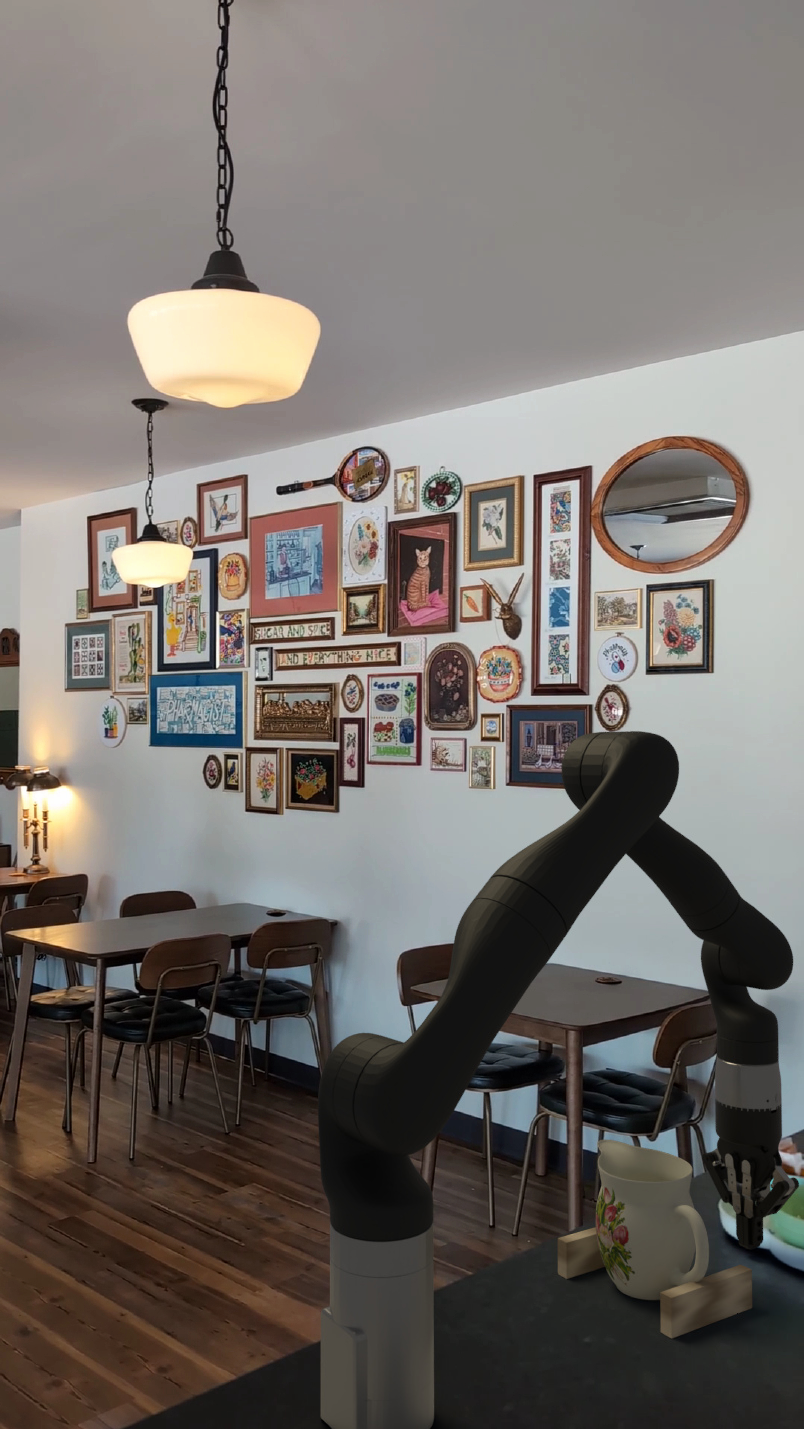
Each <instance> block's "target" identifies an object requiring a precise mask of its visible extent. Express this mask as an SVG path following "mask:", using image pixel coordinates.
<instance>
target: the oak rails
mask: <svg viewBox="0 0 804 1429" xmlns="http://www.w3.org/2000/svg"><path fill="white" fill-rule="evenodd" d="M602 1268H606V1267H605V1265H604V1262H603V1259H602V1256H601V1253H600V1249H599V1245H598V1240H597V1233H596V1226H595V1227H591V1228H588V1229H585V1230H581V1231H578V1232H574V1233H572V1234H567V1235H564V1236H560V1237H557V1274H558V1275H559V1276H560V1277H563V1279H565V1280H567V1279H571V1278H574V1277H578V1276H580V1275H584V1274H586V1273H587V1274H588V1273H590V1272H593V1271H596V1270H599V1269H602ZM752 1271H753V1269H752V1268H749V1267H747V1266H745V1265H743V1264H738V1265H735V1266H733V1267H730V1268H726V1269H724V1270H720V1271H718V1272H715V1273H712V1274H709V1275H707V1276H706V1275H705V1276H704V1277H703V1279H702V1280H701V1281H699V1282H689V1283H686V1284H683V1285H680V1286H677V1287H674V1288H672V1289H669V1290H666V1291H663V1292H660V1300H659V1301H660V1306H659V1307H660V1333H662V1335H664V1336H666V1337H668V1338H670V1339H674V1338H677V1337H679V1336H682V1335H685V1334H688V1333H690V1332H692V1331H696V1330H697V1329H700V1328H704V1327H705V1326H708V1325H711V1324H714V1323H716V1322H719V1321H721V1320H725V1319H727V1318H729V1317H732V1316H735V1315H737V1313H738V1314H740V1313H743V1312H745V1311H748V1310H751V1309H753V1272H752Z"/></svg>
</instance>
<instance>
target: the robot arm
mask: <svg viewBox="0 0 804 1429" xmlns="http://www.w3.org/2000/svg"><path fill="white" fill-rule="evenodd" d="M561 763H562V764H561V780H562V783H563V784H562V785H563V788H564V791H565V792H566V795H567V797H569V800H570V801H571V803H572V804H573V805H574V806H575V807H576V808H577V809H578V812H577V813H576V814H574V815H573V816H572V817H571V818H569V819H568V820H567V821H566V822H564V823H562V825H559V826H558V827H557V828H555V829H554V830H552V831H550V832H549V833H547V834H546V835H544V836H542V837H540V838H539V839H537V840H536V841H534V842H532V843H530V844H529V845H527V846H526V847H524V848H522V850H520V851H517V853H516V854H514V855H513V856H512V857H510V858H508V859H507V860H506V861H505V862H504V863H503V864H502V865H500V866H499V868H497V870H496V871H494V873H492V874H491V876H490V877H489V879H488V880H487V882H485V884H484V885H483V887H482V888H481V889H480V890H479V892H478V893H477V895H475V896H474V898H473V900H471V902H470V903H469V905H468V906H467V907H466V909H465V911H464V912H463V914H462V916H461V917H460V920H459V922H458V925H457V928H456V931H455V936H454V941H453V945H452V946H453V947H452V952H451V960H450V967H449V973H448V976H447V977H448V978H447V982H446V984H445V987H444V988H443V991H442V994H441V995H440V997H439V999H438V1000H437V1002H436V1004H435V1005H434V1006H433V1008H432V1009H431V1011H430V1012H429V1013H428V1014H427V1016H426V1017H425V1019H424V1020H423V1022H422V1023H421V1024H420V1025H419V1026H418V1027H417V1029H416V1030H415V1031H414V1032H413V1033H412V1034H411V1035H410V1036H409V1037H408V1039H406V1040H405V1041H401V1040H397V1039H394V1038H391V1037H387V1036H385V1035H380V1034H378V1033H377V1034H376V1033H373V1032H359V1033H355V1034H352V1035H349V1036H347V1037H345V1038H344V1039H342V1040H341V1041H339V1042H338V1043H337V1044H336V1045H335V1047H334V1048H333V1049H332V1050H331V1052H330V1053H329V1055H328V1056H327V1058H326V1061H325V1063H324V1065H323V1069H322V1070H321V1076H320V1080H319V1085H318V1086H319V1087H318V1094H317V1096H318V1097H317V1122H318V1126H317V1127H318V1144H319V1146H318V1147H319V1164H320V1165H319V1166H320V1178H321V1179H320V1180H321V1185H322V1189H323V1191H324V1195H325V1197H326V1199H327V1201H328V1202H327V1203H328V1205H329V1221H330V1223H329V1306H327V1307H324V1308H322V1309H321V1311H320V1419H322V1420H323V1421H324V1423H326V1424H327V1425H328V1426H329V1428H331V1429H431V1428H432V1426H433V1424H434V1421H435V1371H434V1370H435V1363H434V1362H435V1361H434V1360H435V1349H434V1348H435V1346H434V1345H435V1344H434V1343H435V1342H434V1336H435V1334H434V1332H435V1331H434V1329H435V1328H434V1327H435V1325H434V1323H435V1322H434V1318H435V1317H434V1313H435V1312H434V1309H435V1308H434V1307H435V1306H434V1303H435V1302H434V1292H435V1291H434V1197H433V1192H432V1189H431V1187H430V1185H429V1183H428V1182H427V1181H426V1180H425V1178H424V1177H423V1176H422V1175H421V1173H420V1172H419V1171H418V1169H417V1168H416V1166H415V1165H414V1163H413V1161H412V1159H411V1158H410V1155H413V1154H415V1153H418V1152H419V1151H421V1150H423V1149H424V1148H426V1147H427V1146H428V1145H429V1144H430V1143H432V1142H433V1141H434V1140H435V1138H436V1137H437V1136H438V1135H439V1134H440V1133H441V1131H442V1130H443V1129H444V1127H445V1125H446V1124H447V1123H448V1121H449V1119H450V1118H451V1117H452V1115H453V1113H454V1112H455V1110H456V1108H457V1106H458V1104H459V1102H460V1101H461V1100H462V1097H463V1095H464V1093H465V1092H466V1090H467V1088H468V1086H469V1084H470V1083H471V1081H472V1079H473V1078H474V1075H475V1074H476V1072H477V1070H478V1069H479V1066H480V1065H481V1063H482V1061H483V1059H484V1057H485V1056H486V1053H487V1052H488V1050H489V1048H490V1047H491V1045H492V1044H493V1042H494V1040H495V1039H496V1036H497V1035H498V1034H499V1032H500V1031H501V1029H502V1028H503V1027H504V1025H505V1023H506V1022H507V1021H508V1019H509V1017H510V1016H511V1014H512V1013H513V1012H514V1010H515V1008H516V1006H517V1005H518V1003H519V1002H520V1001H521V999H522V998H523V996H524V995H525V993H526V991H527V990H528V988H530V986H531V984H532V982H533V981H534V980H535V978H536V977H537V976H538V975H539V973H540V972H541V971H542V970H543V969H544V967H546V965H547V963H548V962H549V961H550V959H551V958H552V956H553V955H554V954H555V952H556V951H557V949H558V948H559V947H560V945H561V943H562V942H563V940H565V937H566V936H567V935H568V934H569V932H570V930H571V928H572V927H573V925H574V923H575V922H576V920H577V919H578V917H579V916H580V915H581V913H582V912H583V911H584V910H585V908H586V907H587V905H588V904H589V902H590V901H591V900H592V898H593V897H595V894H596V893H598V892H597V891H598V890H599V889H600V888H601V886H602V885H603V884H604V882H605V881H606V879H607V878H608V876H609V875H610V874H611V873H612V871H613V870H614V869H615V867H617V865H618V864H619V863H620V861H621V860H622V859H623V858H624V857H625V856H626V855H627V857H628V858H629V859H631V861H633V862H634V864H636V865H637V866H638V867H639V869H641V871H643V872H644V873H645V875H646V876H647V877H648V878H649V879H650V880H651V881H652V882H653V883H654V885H656V887H657V888H658V889H659V891H660V892H661V893H662V895H663V896H664V897H665V898H666V899H667V900H668V902H669V904H670V905H671V907H673V909H674V910H675V912H676V913H677V914H678V916H679V918H680V919H681V920H682V921H683V923H685V925H686V927H687V928H688V929H689V931H690V932H691V933H692V934H693V935H694V936H696V937H697V938H698V939H700V940H702V941H703V942H702V945H701V948H700V949H701V950H700V963H701V965H700V966H701V969H702V973H703V978H704V982H705V986H706V989H707V994H708V997H709V1000H710V1004H711V1008H712V1011H713V1014H714V1018H715V1021H716V1065H715V1071H714V1072H715V1073H714V1094H715V1095H714V1097H715V1098H714V1105H715V1109H714V1111H715V1121H714V1122H715V1125H714V1126H715V1133H716V1135H717V1136H718V1137H719V1138H718V1140H717V1142H716V1148H715V1149H713V1150H712V1151H708V1152H706V1153H703V1154H702V1155H701V1159H702V1162H703V1163H704V1166H705V1167H706V1170H707V1172H708V1174H709V1176H710V1178H711V1181H712V1182H713V1184H714V1186H715V1188H716V1190H717V1192H718V1195H719V1196H720V1199H721V1200H722V1202H723V1203H725V1204H729V1205H730V1206H731V1207H732V1209H733V1211H734V1213H735V1227H736V1228H735V1234H736V1238H737V1240H738V1245H739V1246H741V1247H743V1248H745V1249H748V1250H754V1249H757V1248H760V1246H761V1245H762V1244H763V1242H764V1218H766V1217H768V1216H771V1215H776V1214H778V1213H779V1212H778V1211H781V1209H782V1208H783V1207H784V1206H785V1204H786V1203H787V1202H788V1201H789V1200H790V1198H791V1197H792V1195H794V1193H795V1192H796V1191H797V1190H798V1188H799V1187H800V1182H799V1180H798V1179H797V1178H796V1177H794V1176H793V1177H790V1176H789V1175H788V1174H787V1173H786V1171H785V1170H784V1169H783V1167H782V1166H783V1159H782V1157H781V1154H780V1150H779V1147H780V1146H779V1145H780V1143H781V1140H782V1138H783V1114H782V1113H783V1112H782V1111H783V1110H782V1109H783V1108H782V1106H783V1105H782V1104H783V1103H782V1101H783V1100H782V1076H781V1071H780V1061H779V1059H780V1058H779V1057H780V1055H779V1048H780V1047H779V1021H778V1018H777V1016H776V1014H775V1013H774V1012H773V1011H772V1010H770V1009H768V1008H767V1007H765V1006H762V1005H761V1004H759V1003H758V1002H755V1001H754V1000H753V998H752V997H751V995H750V993H749V989H748V988H750V989H751V988H752V989H756V990H763V991H772V990H776V989H778V988H780V987H782V986H783V985H785V984H786V983H787V982H788V980H789V979H790V977H791V975H792V972H793V969H794V968H793V967H794V954H793V951H792V950H793V949H792V947H791V945H790V942H789V941H788V940H789V939H787V937H786V936H785V934H784V933H783V932H782V930H781V929H780V928H779V927H778V926H777V925H776V924H775V923H773V922H772V920H770V919H769V918H768V917H767V916H765V915H764V914H763V913H762V912H761V911H759V910H758V909H757V908H756V907H755V906H754V905H752V904H751V903H749V902H748V901H747V900H745V899H744V898H743V897H742V896H741V895H740V893H739V891H738V890H737V888H736V886H734V884H733V882H732V881H731V880H730V878H729V877H728V875H727V873H726V872H725V871H724V870H723V869H722V867H721V866H720V865H719V863H717V861H716V860H715V859H714V857H712V856H711V855H710V854H708V853H707V851H705V850H704V849H703V848H702V847H700V846H699V845H698V844H696V843H695V842H694V841H692V840H691V839H689V838H688V837H686V836H685V835H683V834H682V833H681V832H679V830H676V829H675V828H674V827H673V826H671V825H670V824H668V823H667V822H666V821H665V820H663V818H661V817H660V816H661V815H662V814H663V812H664V811H665V810H666V808H668V805H669V804H670V802H671V800H672V799H673V796H674V794H675V791H676V790H677V786H678V782H679V775H680V761H679V756H678V754H677V751H676V749H675V747H674V746H673V744H672V743H671V742H670V741H669V740H668V739H667V738H666V737H663V736H662V735H660V734H658V733H652V732H648V731H639V730H635V731H633V730H632V731H631V730H630V731H599V732H598V731H597V732H592V733H591V732H590V733H585V734H583V735H580V736H578V737H576V738H575V739H574V740H572V741H571V743H570V744H569V746H568V747H567V748H566V751H565V753H564V755H563V757H562V762H561ZM777 1212H778V1213H777Z"/></svg>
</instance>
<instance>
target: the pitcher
mask: <svg viewBox="0 0 804 1429" xmlns="http://www.w3.org/2000/svg"><path fill="white" fill-rule="evenodd" d="M597 1147H598V1150H599V1152H600V1155H599V1156H598V1159H597V1169H598V1170H599V1176H600V1181H601V1182H600V1183H601V1187H600V1190H599V1193H598V1197H597V1201H596V1207H595V1227H596V1233H597V1240H598V1245H599V1249H600V1253H601V1256H602V1259H603V1262H604V1265H605V1267H604V1268H605V1269H606V1272H607V1274H608V1275H609V1276H608V1277H610V1279H611V1280H612V1282H613V1283H614V1285H615V1286H616V1288H617V1290H619V1291H620V1293H622V1294H624V1295H627V1296H629V1297H631V1298H635V1299H638V1300H643V1301H660V1292H663V1291H666V1290H669V1289H672V1288H674V1287H677V1286H680V1285H683V1284H686V1283H689V1282H699V1281H701V1280H702V1279H703V1277H706V1273H707V1271H708V1268H709V1260H710V1259H709V1258H710V1245H709V1244H710V1243H709V1238H708V1233H707V1228H706V1225H705V1223H704V1220H703V1218H702V1216H701V1215H700V1214H699V1212H698V1211H697V1210H696V1209H695V1206H694V1203H693V1199H692V1197H691V1193H690V1189H691V1182H692V1178H693V1169H694V1168H693V1166H692V1165H691V1164H690V1163H689V1162H688V1161H686V1160H685V1159H683V1158H681V1157H679V1156H676V1155H674V1154H671V1153H668V1152H665V1151H662V1150H657V1149H654V1148H653V1149H652V1148H648V1147H641V1146H637V1145H636V1146H635V1145H631V1144H629V1143H627V1142H624V1141H623V1142H622V1141H618V1140H614V1139H600V1140H598V1141H597ZM694 1258H695V1261H694V1264H693V1260H694ZM692 1264H693V1267H692ZM691 1267H692V1268H691ZM690 1269H691V1270H690Z"/></svg>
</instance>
